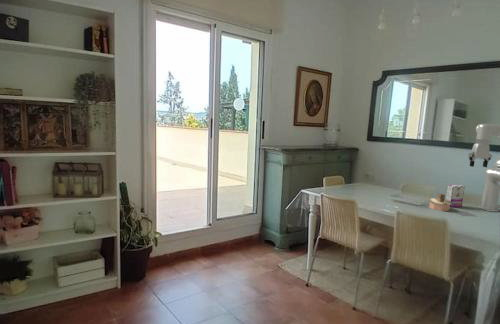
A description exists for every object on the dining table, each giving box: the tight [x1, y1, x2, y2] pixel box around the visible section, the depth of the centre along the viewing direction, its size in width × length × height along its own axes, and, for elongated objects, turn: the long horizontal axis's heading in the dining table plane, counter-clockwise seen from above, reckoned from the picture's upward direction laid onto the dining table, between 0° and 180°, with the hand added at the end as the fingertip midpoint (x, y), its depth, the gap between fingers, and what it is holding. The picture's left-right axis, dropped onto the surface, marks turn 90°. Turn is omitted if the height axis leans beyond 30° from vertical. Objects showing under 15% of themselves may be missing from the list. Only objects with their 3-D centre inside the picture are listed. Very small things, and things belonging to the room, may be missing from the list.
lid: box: [429, 193, 452, 205], centre depth 233 cm, size 14×14×6 cm
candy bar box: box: [445, 184, 465, 208], centre depth 241 cm, size 11×5×16 cm, turn 105°
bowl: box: [428, 201, 451, 212], centre depth 233 cm, size 12×12×5 cm
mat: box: [452, 210, 478, 217], centre depth 224 cm, size 11×11×1 cm
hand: (478, 166), depth 224 cm, fingers open, 9 cm apart
